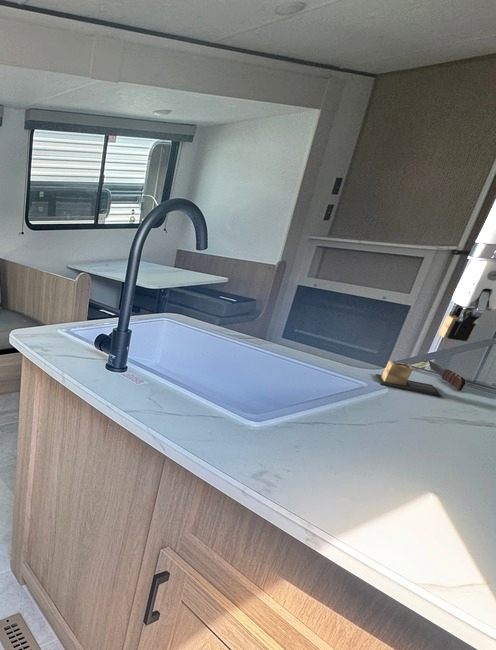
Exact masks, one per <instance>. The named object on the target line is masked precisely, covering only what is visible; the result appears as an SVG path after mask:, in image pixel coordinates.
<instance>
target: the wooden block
mask: <svg viewBox="0 0 496 650" xmlns="http://www.w3.org/2000/svg"><path fill="white" fill-rule="evenodd" d="M413 370H414V368H413V367H412V366H411V364H410V363H407V362H400V361H395V360H388V361H387V363H386V366H385V368H384V370H383V373H382V374H381V375H382V378H383V380H384V382H389V383H394V384H400V385H406V383H407V381H408V380H409V378H410V376H411V374H412V372H413Z"/></svg>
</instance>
